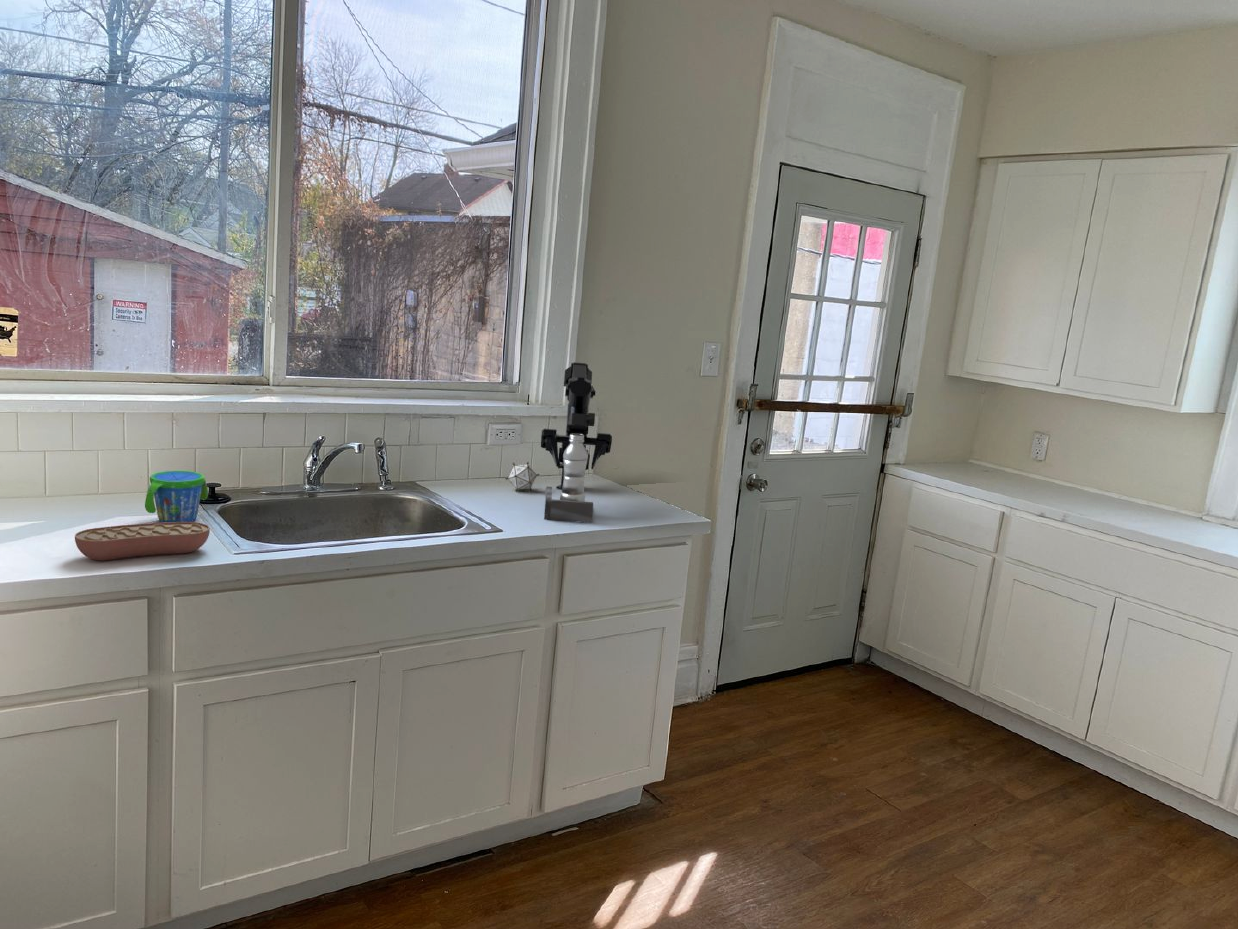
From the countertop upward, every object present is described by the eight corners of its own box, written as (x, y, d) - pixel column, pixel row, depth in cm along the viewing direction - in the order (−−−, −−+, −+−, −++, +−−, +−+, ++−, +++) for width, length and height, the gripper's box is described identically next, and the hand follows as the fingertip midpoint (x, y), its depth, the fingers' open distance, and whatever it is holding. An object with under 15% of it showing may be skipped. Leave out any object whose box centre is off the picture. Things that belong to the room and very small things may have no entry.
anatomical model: (78, 569, 161) (78, 542, 160) (72, 554, 169) (71, 528, 168) (214, 556, 175) (214, 531, 174) (202, 542, 183) (202, 519, 182)
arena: (545, 504, 241) (546, 486, 240) (589, 507, 242) (591, 489, 241) (544, 519, 225) (545, 500, 224) (591, 522, 226) (593, 503, 225)
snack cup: (163, 532, 186) (163, 485, 185) (128, 523, 190) (127, 476, 189) (224, 518, 201) (224, 474, 199) (189, 510, 205) (190, 466, 203)
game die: (514, 503, 255) (494, 474, 252) (527, 488, 262) (508, 460, 259) (536, 493, 250) (516, 464, 247) (549, 478, 257) (530, 450, 254)
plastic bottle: (553, 509, 232) (558, 433, 228) (571, 506, 237) (576, 431, 233) (572, 515, 228) (577, 437, 224) (589, 511, 233) (595, 435, 229)
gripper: (544, 398, 236) (540, 447, 227) (614, 404, 237) (613, 452, 228) (542, 423, 245) (538, 470, 236) (610, 428, 246) (609, 476, 238)
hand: (574, 467), depth 234 cm, fingers open, 9 cm apart
